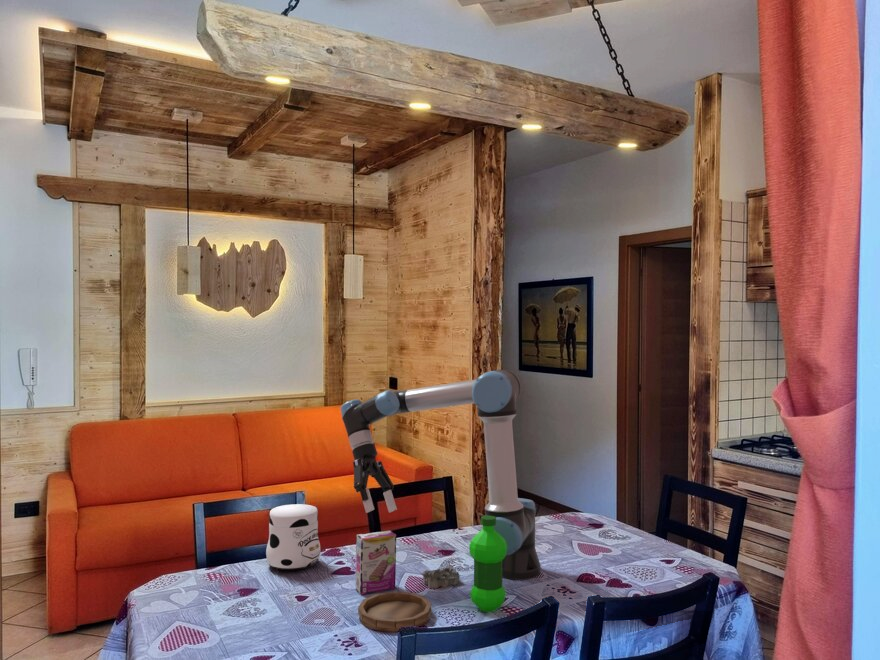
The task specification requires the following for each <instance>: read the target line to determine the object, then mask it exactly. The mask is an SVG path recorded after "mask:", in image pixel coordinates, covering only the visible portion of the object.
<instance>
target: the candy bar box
mask: <svg viewBox="0 0 880 660" xmlns="http://www.w3.org/2000/svg"><path fill="white" fill-rule="evenodd" d="M355 550H356V551H355V554H356V555H355V590H356V591H357V592H358V594H359V595H361V596H362V595H366V594H373V593H381V592H384V591H391V590H395V589H396V573H397V572H396V571H397V570H396V567H397V566H396V565H397V560H396V559H397V534H396V533H395V532H393V531H392V530H384V531H376V532H369V533H367V532H366V533H360V534H356V549H355Z"/></svg>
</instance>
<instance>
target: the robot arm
mask: <svg viewBox="0 0 880 660" xmlns="http://www.w3.org/2000/svg"><path fill="white" fill-rule="evenodd" d="M521 393H522V384H521V381H520V379H519V377H518V375H517V374H516V373H514V372H513V371H511V370H508V369H497V370H490V371H486V372H484V373H483V374H481V375H479V376H478V377H477V379H471V380H470V379H469V380H463V381H457V382H456V381H455V382H453V383H452V382H451V383H443V384H438V385H433V386H432V385H431V386H424V387H418V388H411V389H407V390H397V391H396V390H395V391H392V390H390V389H388V390H384V391H382V392H379V393H378V394H376V395H375V396H373V397H370V398H369V399H367V400H365V401H363V402H362V401H361V399H351V400H350V401H349V400H348V401H346V402H344V403H343V404H341V406H340V412H341V414H340V415H341V420H342V422H343V424H344V427H345V431H346V435H347V438H348V441H349V443H348V444H349V445H350V448H351V451H352V456H353V461H352V464H353V465H352V466H353V489H354V490H355V491H356V493H360V497H361V500H362V503H363V507H364V510H365V513H366V514H367V513H370V512H372V511H374V510H375V506H374V502H373V499H372V496H371V492H370V489H369V488H368V481H369V478H370V477H371V478H373V479H374V480H375V481H376V482H377V484H378V485H379V486H380V488H381V489H382V491H383V494H382V495H383V497H384V500H385V504H386V507H387V511H388V513H392V512H395V511H397V510H398V508H397V504H396V502H395V498H394V495H393V492H392V491H393V490H394V489H395V486H394V484H393V481H392V479H391V478H390V476H389V475H388V472H387V471H386V469H385V468H384V465H383V462H382V461H381V460H379V461H377V460H376V457H377V456H378V451H377V448H376V444H374V443H375V440H374V437H373V435H372V432H371V428H370V427H371V426H370V425H372V424H374V423H376V422H378V421H380V420H382V419H385V418H389V417H392V416H394V415H400V414H406V413H412V412H420V411H428V410H434V409H442V408H449V407H450V408H451V407H455V406H456V407H457V406H463V405H464V406H465V405H471V404H472V405H473V404H475V405H476V407H477V418H478V419H480V420H481V422H483V432H484V445H485V449H484V450H485V459H486V472H487V487H488V500H489V501H488V503H487V504H486V505H485V506H484V514H485V515H484V516H494V517H496V525H495V526H494V530H495V531H496V532H497V533H499V534H500V535H501V536H502V537H503V538H504V539H505V540H506V543H507V552H506V556H505V558H504V559H503V560H502V578H504V579H511V580H530V579H533V578H537V577H538V576H540V575H541V568H542V566H541V563H540V559H539V556H538V552H537V549H536V512H537V510H536V504H535V503H536V502H534V500H532V499H528V498H523V497H522V498H520V497H518V484H517V471H516V456H515V455H516V454H515V443H514V431H513V420H514V418H516V416H517V403H516V402H517V400H518V399H519V398H520V396H521ZM369 476H370V477H369Z"/></svg>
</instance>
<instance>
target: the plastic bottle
mask: <svg viewBox="0 0 880 660" xmlns="http://www.w3.org/2000/svg"><path fill="white" fill-rule="evenodd" d="M480 525H481V526H482V529H481V530H480V531H479V532H478V533H477V534H475V535H474V536H473V537H472V538H471V540H470V543H469V553H470V555H469V556H471V557H472V558H473V586H472V588H471V591H470V594H469V595H470V597H469V598H470V600H471V602H472V603H473V604H474V605H475V606H476V607H477V608H478V609H479V610H480V611H481V612H485V613H491V612H493V613H494V612H495V611H497V610H498V609H499V608H500V607H502V605H503V604H504V602H505V599H506V596H507V595H506V594H507V593H506V592H507V591H506V589H505V587H504V585H503V577H502V560H503V559H504V558H505V556H506V552H507V543H506V540H505V539H504V538H503V537H502V536H501V535H500V534H499V533H497V532H496V531H495V530H494V526H495V525H496V517H494V516H485V515H481V517H480Z"/></svg>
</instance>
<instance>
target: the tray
mask: <svg viewBox="0 0 880 660" xmlns="http://www.w3.org/2000/svg"><path fill="white" fill-rule="evenodd" d="M431 613H432V603H431V602H430V601H429V599H428V598H426V597H424V596H421V595H419V594H416V593H413V592H406V591H405V592H404V591H389V592H379V593H376V594H373V595H371V596H368V597H367V598H364V599H362V600H361V602H360V604H359V605H358V607H357V614H358V616H359V617H358V618H359V622H360V623H361V625H363V626H364V627H366V628H368V629H371V630H374V631H377V632H383V633H384V632H385V633H399V632H398V630H399V629H400V628H401V627H410V626H421V627H423V626H424V625H426V624H428V623H429V621H430V620H431Z"/></svg>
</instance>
